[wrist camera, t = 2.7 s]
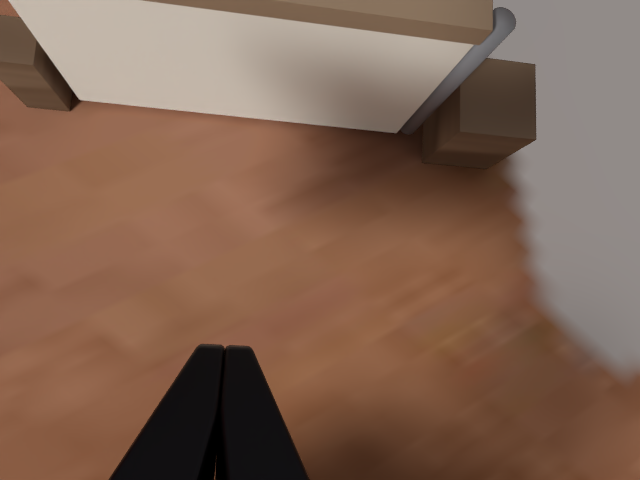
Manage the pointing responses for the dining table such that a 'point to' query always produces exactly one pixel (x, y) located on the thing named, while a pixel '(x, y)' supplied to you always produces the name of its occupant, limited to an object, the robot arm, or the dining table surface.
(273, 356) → the dining table surface
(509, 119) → the gate frame
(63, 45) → the gate
